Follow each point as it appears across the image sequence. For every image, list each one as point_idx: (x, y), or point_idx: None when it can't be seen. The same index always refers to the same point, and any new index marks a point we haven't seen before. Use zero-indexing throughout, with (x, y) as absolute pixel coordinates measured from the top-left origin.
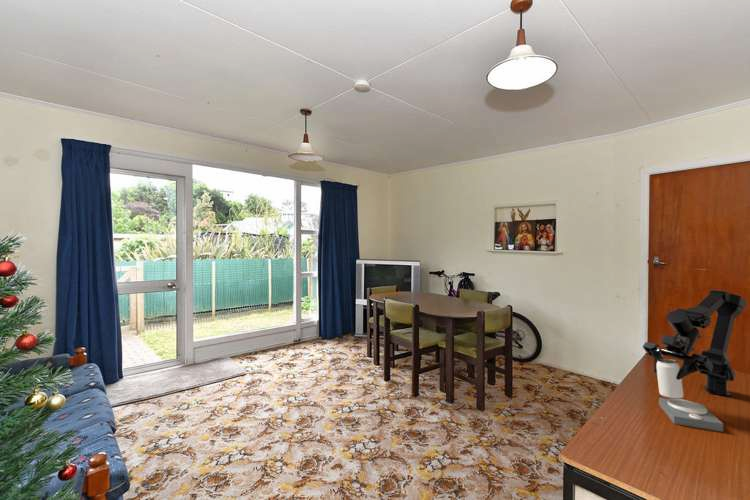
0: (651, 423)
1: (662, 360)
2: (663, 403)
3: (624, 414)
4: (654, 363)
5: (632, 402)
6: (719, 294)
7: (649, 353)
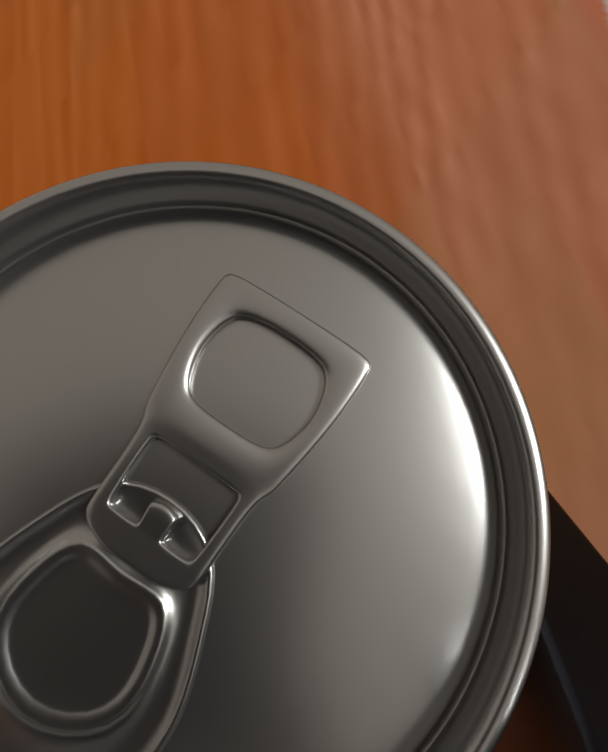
0: (330, 136)
1: (389, 630)
2: None
3: (496, 117)
4: (600, 559)
5: (561, 387)
6: None
7: None
